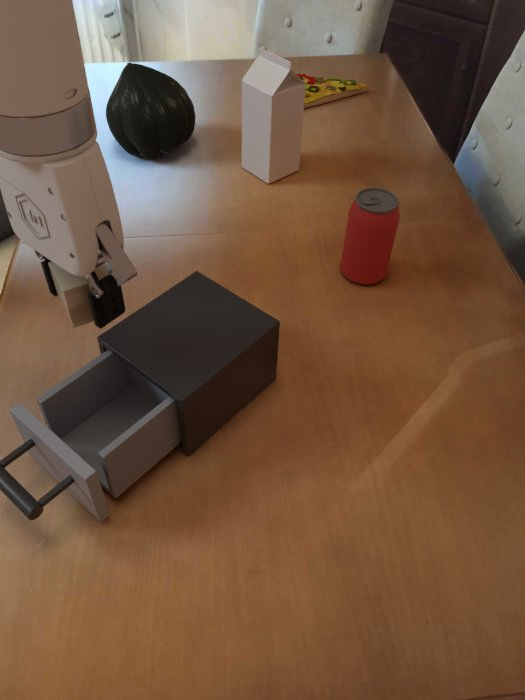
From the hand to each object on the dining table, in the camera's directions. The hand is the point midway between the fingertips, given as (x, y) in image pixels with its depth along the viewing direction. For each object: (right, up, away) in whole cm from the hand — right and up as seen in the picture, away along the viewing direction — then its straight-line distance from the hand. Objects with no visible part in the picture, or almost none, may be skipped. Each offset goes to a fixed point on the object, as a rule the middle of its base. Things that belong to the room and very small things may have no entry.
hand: (87, 302), depth 56 cm
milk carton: (+18, +27, +47) cm, 57 cm away
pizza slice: (+28, +48, +68) cm, 88 cm away
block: (0, 0, 0) cm, 1 cm away
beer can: (+31, +6, +29) cm, 43 cm away
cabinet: (+9, -9, +14) cm, 18 cm away
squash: (-3, +32, +51) cm, 60 cm away
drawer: (-1, -16, +5) cm, 17 cm away
